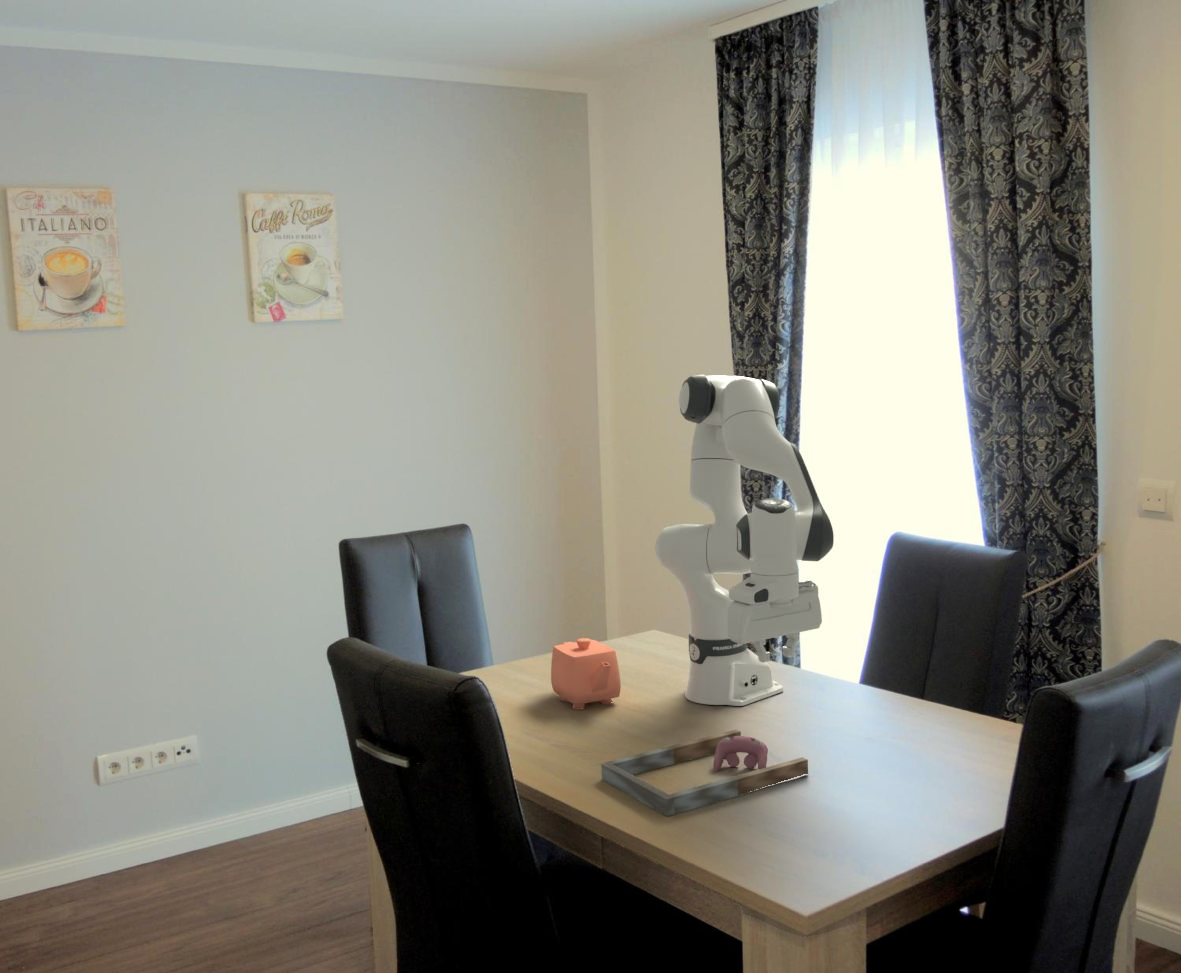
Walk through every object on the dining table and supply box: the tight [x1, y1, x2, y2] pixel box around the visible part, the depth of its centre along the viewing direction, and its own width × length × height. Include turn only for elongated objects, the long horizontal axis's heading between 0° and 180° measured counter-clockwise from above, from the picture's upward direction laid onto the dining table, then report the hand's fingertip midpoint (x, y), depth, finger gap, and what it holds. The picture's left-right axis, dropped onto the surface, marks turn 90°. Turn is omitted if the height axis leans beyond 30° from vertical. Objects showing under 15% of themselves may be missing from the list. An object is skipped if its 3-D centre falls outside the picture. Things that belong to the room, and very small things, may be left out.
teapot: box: [550, 637, 621, 710], centre depth 258 cm, size 22×13×14 cm, turn 25°
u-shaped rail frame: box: [600, 729, 809, 817], centre depth 210 cm, size 31×21×3 cm
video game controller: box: [712, 735, 769, 772], centre depth 214 cm, size 10×5×7 cm, turn 71°
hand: (776, 658), depth 217 cm, fingers open, 4 cm apart
